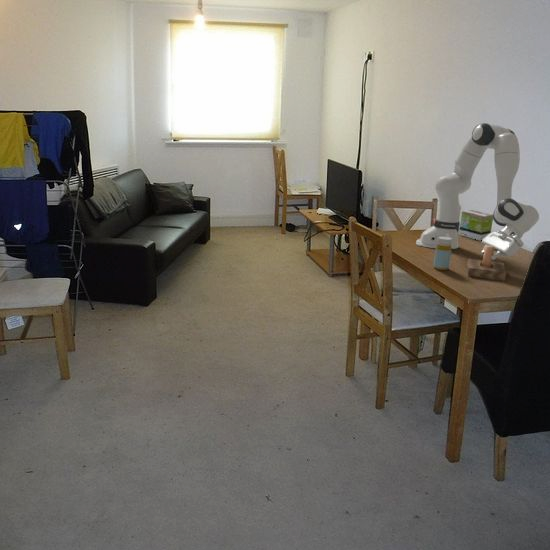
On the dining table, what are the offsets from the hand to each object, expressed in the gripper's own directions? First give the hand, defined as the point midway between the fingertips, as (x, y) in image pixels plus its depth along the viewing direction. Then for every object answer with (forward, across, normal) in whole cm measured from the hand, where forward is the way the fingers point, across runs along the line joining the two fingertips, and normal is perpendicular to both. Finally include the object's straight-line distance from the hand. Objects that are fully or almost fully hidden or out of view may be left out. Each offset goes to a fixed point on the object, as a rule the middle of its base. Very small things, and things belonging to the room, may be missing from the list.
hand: (486, 256), depth 259 cm
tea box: (-18, -65, +31) cm, 74 cm away
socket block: (+6, 0, +6) cm, 8 cm away
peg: (+5, 0, +6) cm, 8 cm away
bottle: (+18, -9, -6) cm, 21 cm away
